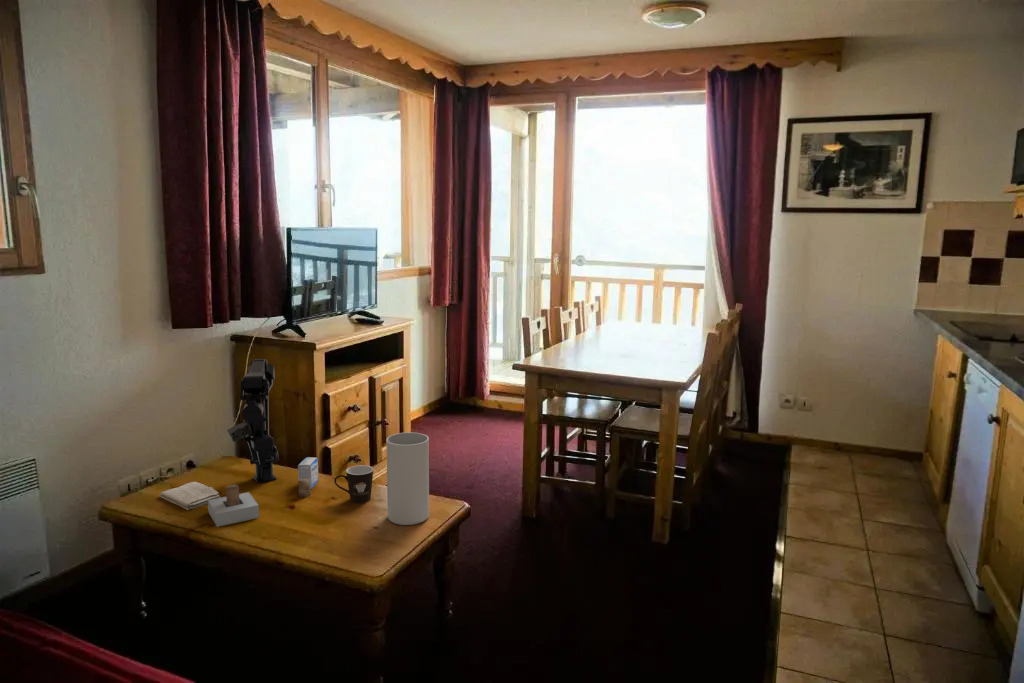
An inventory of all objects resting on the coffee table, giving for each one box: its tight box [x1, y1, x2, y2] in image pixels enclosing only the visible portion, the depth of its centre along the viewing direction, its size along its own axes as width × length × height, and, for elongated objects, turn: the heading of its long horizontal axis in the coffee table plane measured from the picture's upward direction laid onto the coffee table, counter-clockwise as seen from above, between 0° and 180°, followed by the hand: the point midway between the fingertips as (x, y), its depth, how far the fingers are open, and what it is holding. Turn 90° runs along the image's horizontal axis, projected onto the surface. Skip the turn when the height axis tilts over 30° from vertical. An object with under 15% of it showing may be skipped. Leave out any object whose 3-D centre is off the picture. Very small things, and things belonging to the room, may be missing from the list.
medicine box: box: [297, 456, 319, 490], centre depth 231 cm, size 8×4×9 cm, turn 179°
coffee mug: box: [334, 464, 374, 504], centre depth 220 cm, size 12×9×10 cm
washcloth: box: [159, 481, 222, 511], centre depth 219 cm, size 12×18×3 cm, turn 55°
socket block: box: [207, 491, 260, 528], centre depth 207 cm, size 12×12×4 cm
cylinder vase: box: [386, 432, 430, 526], centre depth 205 cm, size 12×12×25 cm
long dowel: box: [225, 484, 240, 507], centre depth 206 cm, size 4×4×9 cm
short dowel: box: [298, 479, 311, 498], centre depth 223 cm, size 4×4×5 cm
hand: (257, 461), depth 218 cm, fingers open, 9 cm apart
